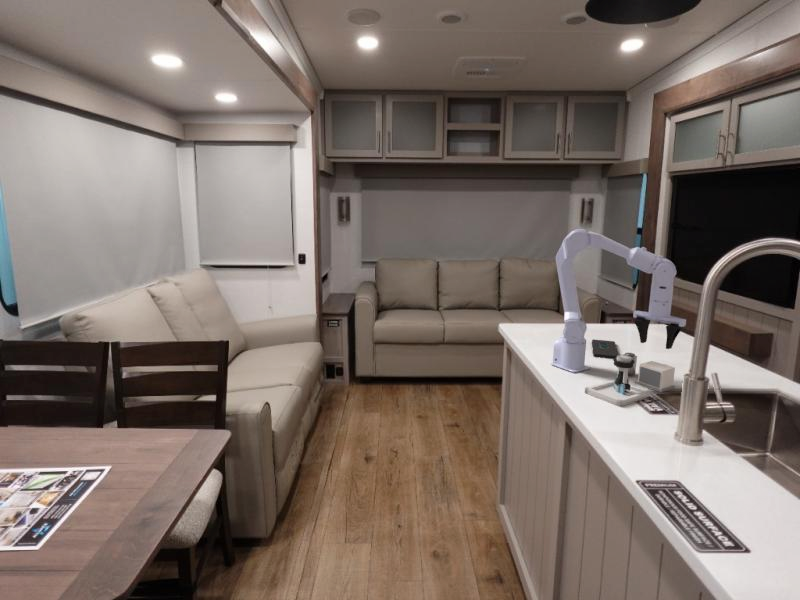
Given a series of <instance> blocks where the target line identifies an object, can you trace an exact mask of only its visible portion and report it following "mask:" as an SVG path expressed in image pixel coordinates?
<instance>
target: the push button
mask: <svg viewBox="0 0 800 600" xmlns="http://www.w3.org/2000/svg"><path fill="white" fill-rule="evenodd" d="M612 361H613V366H615V367H616V368H617V375H616V378H615V379H613V380H614V389H615V391H618V392H619V393H621V394H627V395H630V394H629V392H631V391H630V385H631V384H629V379H628V369H630V368H632V367H633V364H634V363H635V361H634V360H632V359H631V357H630V356H627V355H623V354H618V356H617V358H614V359H612Z"/></svg>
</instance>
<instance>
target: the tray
mask: <svg viewBox="0 0 800 600" xmlns="http://www.w3.org/2000/svg"><path fill="white" fill-rule="evenodd" d="M614 380H615V379H612V380H609V381H605V382H601V383H598V384H594V385H590V386H586V387H584V394H587V395H590V396H591V397H594V398H596V399H599V400H602V401H603V402H606V403H610V404H612V405H615V406H617V407H623V406H626V405H630V404H633V403H637V402H639V401H642V400H645V399H648V398H647V397H649V396H650V397H651V391H649V390H646V389H643V388H640V387H637V386H634V385H632V384H630V391H631V392H629V394H630V395H627V394H621V393H619V392H618V391H615V389H614ZM650 397H649V398H650ZM644 398H645V399H644Z"/></svg>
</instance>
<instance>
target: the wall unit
mask: <svg viewBox="0 0 800 600" xmlns="http://www.w3.org/2000/svg"><path fill="white" fill-rule="evenodd" d="M675 370H676V367H674V366H671V365H667V364H664V363H660V362H657V361H653V360H651V361H646V362H643V363H639V365H638V374H637V375H638V376H637V380H635V381H634V382H635V383H634V384H636V385H639V386H642V387H644V388H648V389H651V390H653V391H657V392H660V393H663V392H667V391H670V390H673V389H675V388H676V385H674V379H675V372H676V371H675Z"/></svg>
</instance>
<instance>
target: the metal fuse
mask: <svg viewBox="0 0 800 600" xmlns="http://www.w3.org/2000/svg"><path fill="white" fill-rule="evenodd" d="M622 355H627V356H630V357H631V359H632V360H634V361H635V363H634V364H633V367H632V368H630V369H628V377H631V378H633V377H635V376H636V373H637V372H636V370H637V361H638V355H636V354H635V353H634V352H633V353H632V352H624V354H622ZM628 377H627V378H628Z"/></svg>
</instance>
